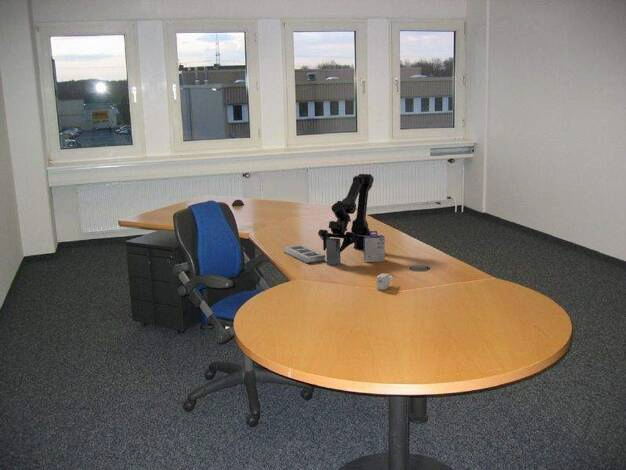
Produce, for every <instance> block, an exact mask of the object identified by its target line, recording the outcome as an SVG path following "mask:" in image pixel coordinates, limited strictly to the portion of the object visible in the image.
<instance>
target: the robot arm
mask: <svg viewBox="0 0 626 470" xmlns="http://www.w3.org/2000/svg"><path fill="white" fill-rule="evenodd" d="M373 184H374V176H373V175H372V174H369V173H359V174H358V175H355V176H353V177H352V182H351V185H350V187H349V190H348V192H347V195H346V197H345V198H343V199H342V200H338V201H336V202H335V203H333V205H332V206H331V207H330V208H331V210H332V213H333V215H334V216H335V218H336V221H331V220H330V221H329V222H328V229H330V231H331V232H329V231H328V230H327V229H319V230H318V232H317V235H318V236H319V238H320V240H322V242H323V243H322V248H323V249H322V250H323V251H324V252H325V251H326V240H328V239H330V238H337V239H343V241H342V243H341V244H340V253H342V252H343V251H345V250H346V249H347V247H349V246H350V245H353V249H356V250H359V251H364V237H363V236H370V231H371V230H370V228H369V223H368V221H367V219H366V218H367V211H368V209H367V208H368V198H369V191H370V190H371V189H372V187H373ZM357 198H358V200H357ZM356 202H357V204H356ZM355 212H356V218H355V219H354V220H351V215H353V214H355ZM350 222H352V223H351V227H350V230H351V231H348V226H349V223H350Z"/></svg>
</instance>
